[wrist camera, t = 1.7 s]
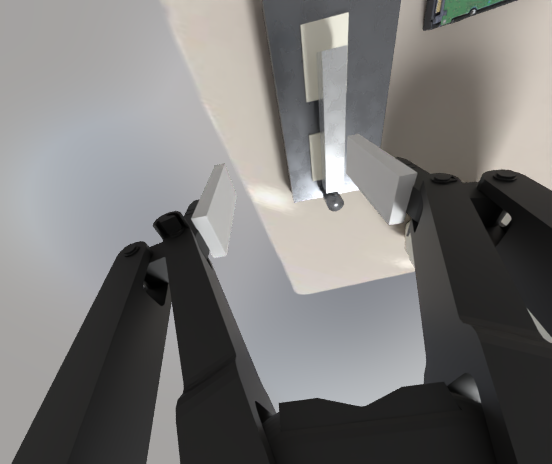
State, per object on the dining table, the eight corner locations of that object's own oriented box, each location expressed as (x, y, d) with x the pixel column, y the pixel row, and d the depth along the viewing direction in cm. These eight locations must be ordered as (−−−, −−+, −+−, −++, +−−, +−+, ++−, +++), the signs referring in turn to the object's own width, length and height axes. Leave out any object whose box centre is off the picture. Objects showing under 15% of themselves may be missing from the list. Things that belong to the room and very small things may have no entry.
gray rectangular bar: (337, 198, 34) (343, 209, 31) (322, 201, 34) (327, 212, 31) (338, 47, 22) (349, 44, 19) (315, 52, 22) (323, 50, 19)
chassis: (262, 7, 23) (262, -3, 19) (388, -27, 22) (411, -45, 18) (291, 192, 38) (294, 204, 34) (366, 177, 37) (377, 188, 33)
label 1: (300, 25, 21) (300, 24, 21) (347, 13, 21) (348, 12, 21) (306, 102, 26) (306, 102, 25) (345, 92, 25) (346, 93, 25)
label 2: (308, 135, 28) (309, 135, 28) (344, 127, 28) (345, 127, 28) (312, 180, 33) (312, 181, 32) (343, 173, 32) (343, 175, 32)
